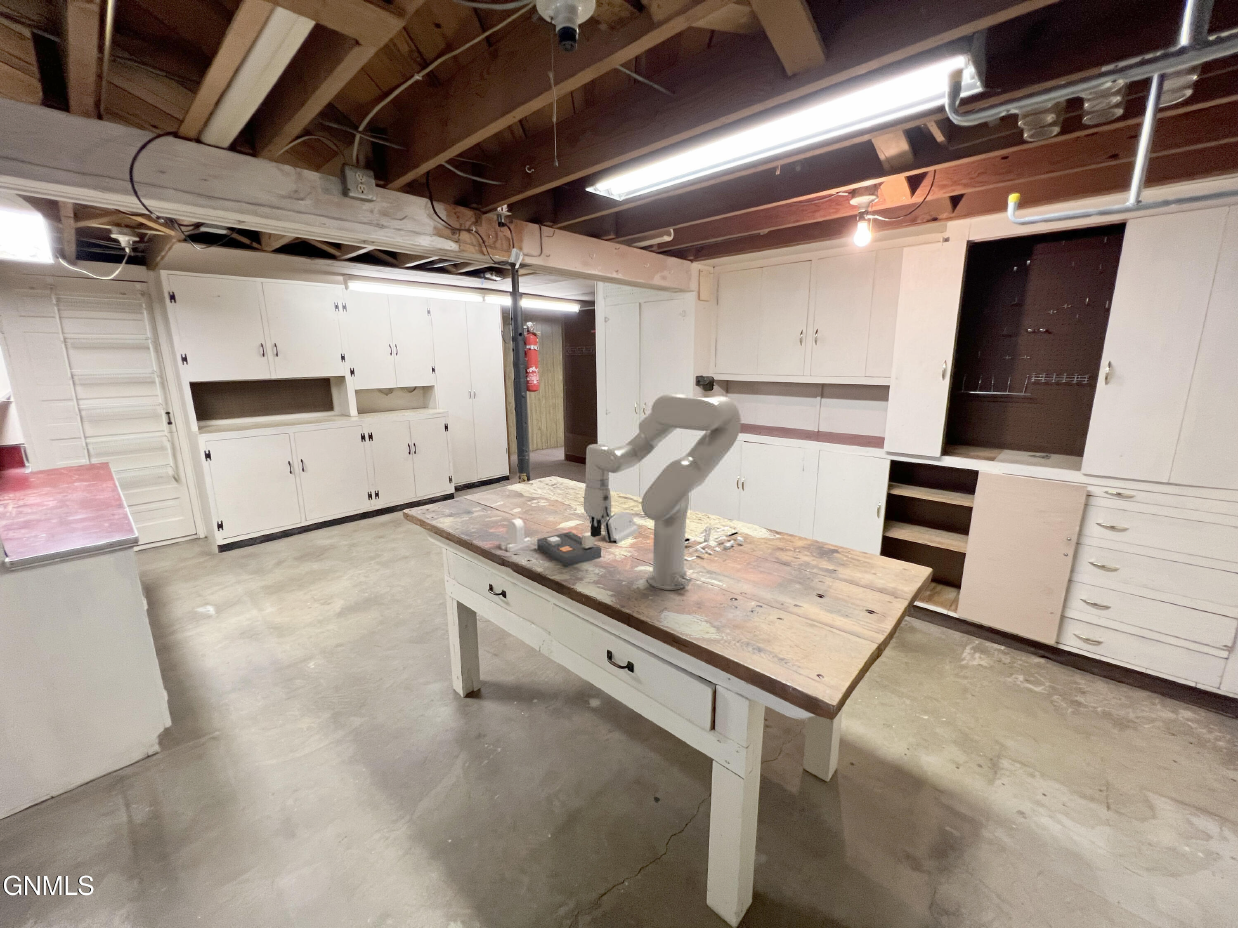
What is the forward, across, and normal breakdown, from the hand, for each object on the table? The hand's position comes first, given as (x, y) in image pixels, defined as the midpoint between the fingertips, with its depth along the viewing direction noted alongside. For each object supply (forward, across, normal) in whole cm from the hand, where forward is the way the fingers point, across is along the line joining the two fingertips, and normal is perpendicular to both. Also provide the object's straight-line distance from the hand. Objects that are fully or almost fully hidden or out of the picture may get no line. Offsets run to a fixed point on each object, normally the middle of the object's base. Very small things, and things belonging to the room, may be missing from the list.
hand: (595, 535), depth 158 cm
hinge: (+10, +15, -22) cm, 29 cm away
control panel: (+10, +12, +3) cm, 16 cm away
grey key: (+8, +16, +7) cm, 19 cm away
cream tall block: (+6, +5, 0) cm, 8 cm away
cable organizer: (+11, +29, +15) cm, 34 cm away
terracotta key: (+8, +8, +7) cm, 13 cm away
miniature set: (+9, -14, -39) cm, 43 cm away
